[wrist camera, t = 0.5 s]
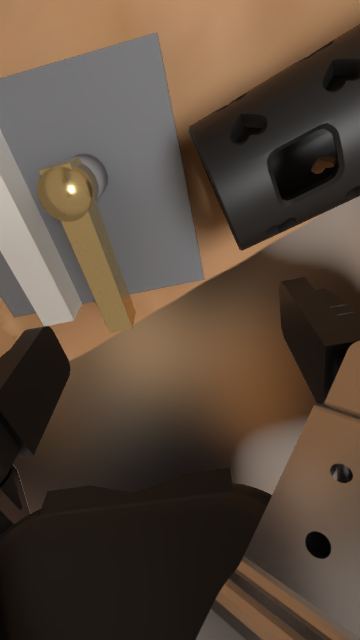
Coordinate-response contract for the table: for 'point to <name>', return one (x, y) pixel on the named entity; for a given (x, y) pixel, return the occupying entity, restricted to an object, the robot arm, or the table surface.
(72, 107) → the lock board
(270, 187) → the muzzle brake
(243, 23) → the table surface
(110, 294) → the swing bar
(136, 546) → the robot arm
